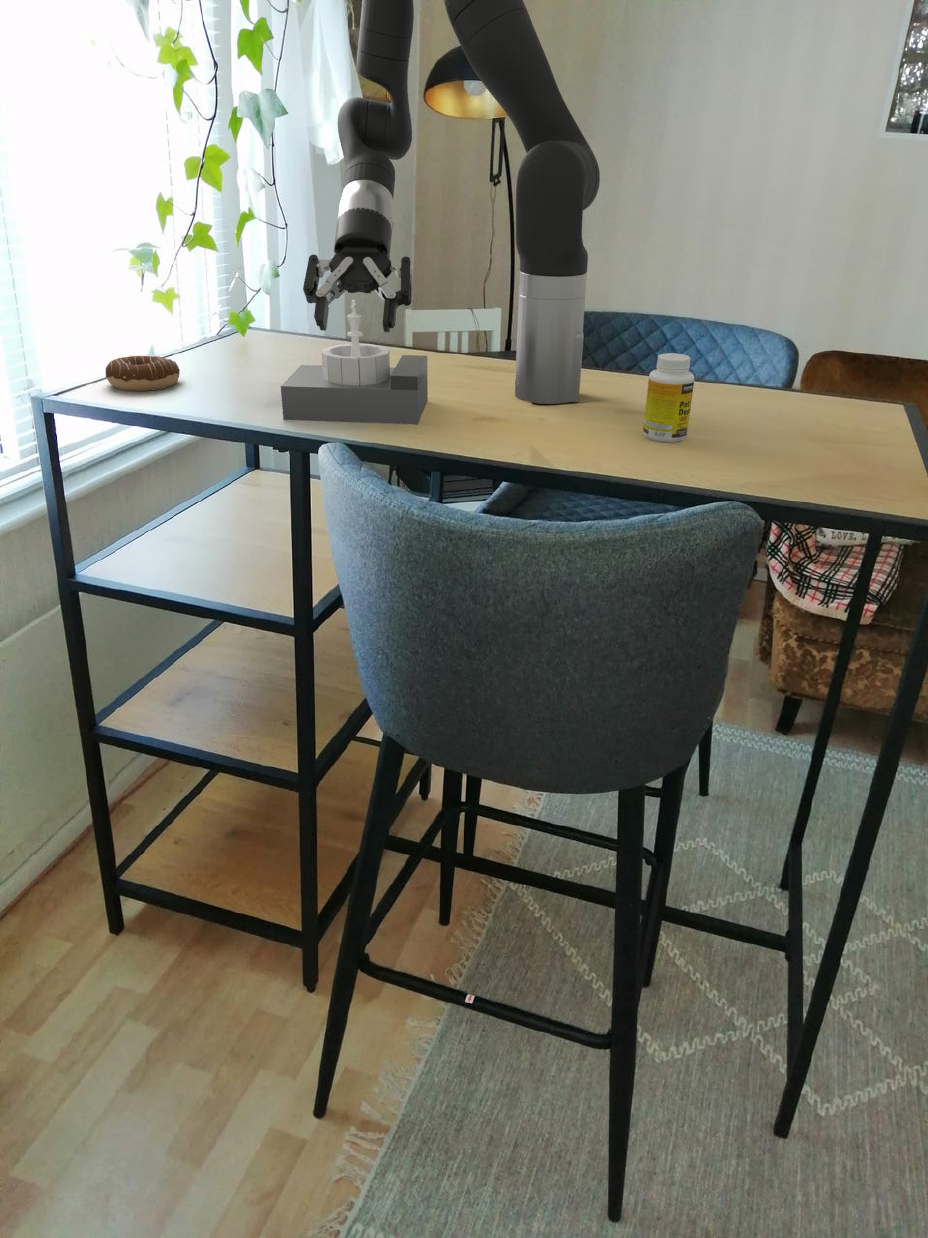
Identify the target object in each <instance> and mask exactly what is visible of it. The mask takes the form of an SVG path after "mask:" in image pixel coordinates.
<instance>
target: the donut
mask: <svg viewBox="0 0 928 1238" xmlns="http://www.w3.org/2000/svg"><path fill="white" fill-rule="evenodd" d="M180 373H181V372H180V368H179V365H178V363H177V362H176V361H174V360H173V359H171V358H166V357H162V356H157V355H156V356H155V355H154V356H151V355H130V356H129V355H128V356H124V357H118V358H115V359H112V360H111V361H109V363H107V365H106V367H105V377H106V379H107V381H108V383H109V384H110V385H112V386H113V387H114V388H116V389H119V390H122V391H129V392H148V391H158V390H163V389H166V388H169V387H171V386H174V385H175V384H176V383H177V382H178V380H179V379H180Z"/></svg>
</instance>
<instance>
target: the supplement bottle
mask: <svg viewBox="0 0 928 1238" xmlns="http://www.w3.org/2000/svg"><path fill="white" fill-rule="evenodd" d="M690 368H691V357H690V355H688V354H683V353H677V352H676V353H675V352H673V353H672V352H671V353H669V352H667V353H661V354H658V356H657V361H656V369H653V370H652V371H650V373H649V376H648V383H647V391H646V392H647V393H646V403H645V412H644V420H643V427H642V428H643V429H642V430H643V433H642V434H643V435H644V437H646V438H647V439H649V440H651V441H654V442H658V443H678V442H681V441H683V440H685V439H686V437H687V435H688V429H689V423H690V415H691V406H692V400H693V392H694V386H695V385H694V384H695V375H694V374H693V372H691V371H690Z"/></svg>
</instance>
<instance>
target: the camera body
mask: <svg viewBox="0 0 928 1238" xmlns="http://www.w3.org/2000/svg"><path fill="white" fill-rule="evenodd" d="M359 345H360V351H361V357H350V356H351V343H347V344H346V343H345V344H337V345H331V346H327V347H325V348H324V349H323V350H322V351H321V365H319V364H317V365H316V364H315V365H313V364H301V365H299V367H298V368H297V369H296V370H295V371H294V372H293V373H292V374H291V375H290V376H289V377H288V378H287V379H286V380H285V381H284V382H283V383H282V384H281V385H280V393H281V404H282V405H281V407H282V417H283V419H282V420H283V421H301V422H302V421H303V422H305V421H306V422H307V421H308V422H310V421H311V422H332V423H333V422H335V423H339V422H340V423H365V424H391V425H392V424H393V425H397V424H398V425H419V422H420V420H421V417H422V415H423V413H424V410H425V408H426V405H427V403H428V401H429V400H428V399H429V398H428V394H429V393H428V389H429V388H428V355H418V354H417V355H413V354H402V356H401V357H400V359H399V360H398V362H397V363H396V366H395V367H391V359H390V358H391V357H390V349H389V348H387V347H385V346H383V345H376V344H371V343H359Z"/></svg>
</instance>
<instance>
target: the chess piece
mask: <svg viewBox="0 0 928 1238" xmlns="http://www.w3.org/2000/svg"><path fill="white" fill-rule="evenodd" d="M356 302H357V301H356V299H351V305H350V310H351V313H349V314H346V319H347V321H348V326H349V328H350V331H348V332H347V333H346V336H347V337H350V338H351V341H350V344H351V356H350V357H361V351H360V345H359V344H360V337H362V336H364V334H363V332H362V331H360V330H359V329H360V327H361V322H362V319H363V316H362V314H360V313H358V312H357V308H358V307H357V306H358V304H357V303H356Z"/></svg>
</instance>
